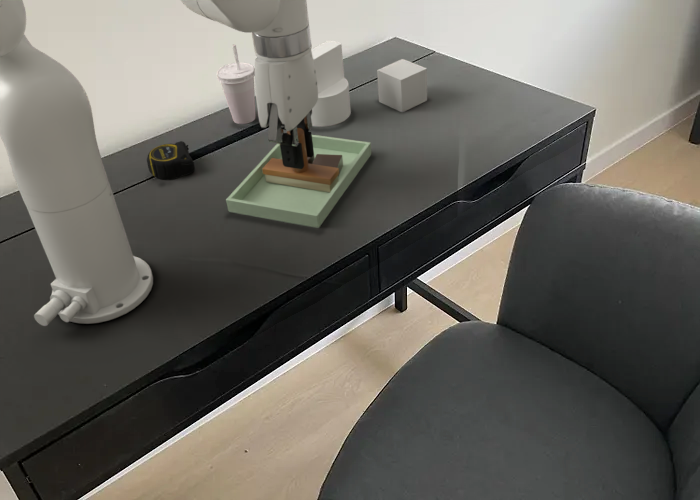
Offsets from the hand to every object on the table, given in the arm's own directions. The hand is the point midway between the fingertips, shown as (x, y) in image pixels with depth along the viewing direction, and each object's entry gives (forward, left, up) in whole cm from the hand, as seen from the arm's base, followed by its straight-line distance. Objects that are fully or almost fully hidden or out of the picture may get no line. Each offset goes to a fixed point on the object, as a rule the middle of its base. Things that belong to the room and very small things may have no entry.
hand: (298, 160), depth 109 cm
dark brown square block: (+4, +2, -4) cm, 6 cm away
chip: (+4, -2, -4) cm, 6 cm away
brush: (0, 0, -4) cm, 4 cm away
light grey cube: (+30, -5, -5) cm, 31 cm away
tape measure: (-1, +22, -5) cm, 22 cm away
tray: (0, 0, -5) cm, 5 cm away
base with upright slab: (+21, +6, -5) cm, 22 cm away
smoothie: (+16, +19, -5) cm, 25 cm away
